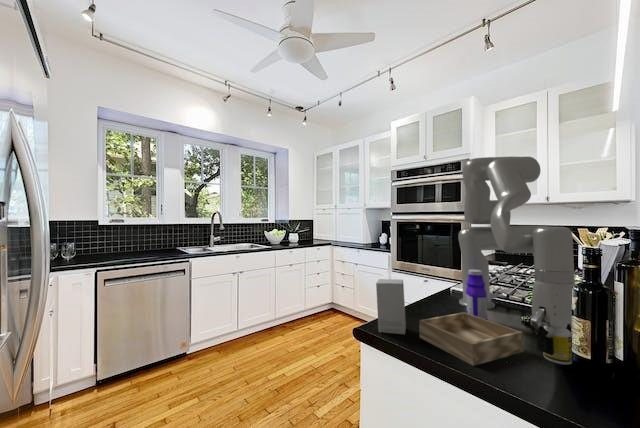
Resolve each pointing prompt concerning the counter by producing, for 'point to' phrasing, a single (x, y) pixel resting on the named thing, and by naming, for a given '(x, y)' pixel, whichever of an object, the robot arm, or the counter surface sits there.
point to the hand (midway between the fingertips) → (557, 348)
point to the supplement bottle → (561, 345)
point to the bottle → (476, 295)
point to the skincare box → (391, 306)
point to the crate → (471, 337)
